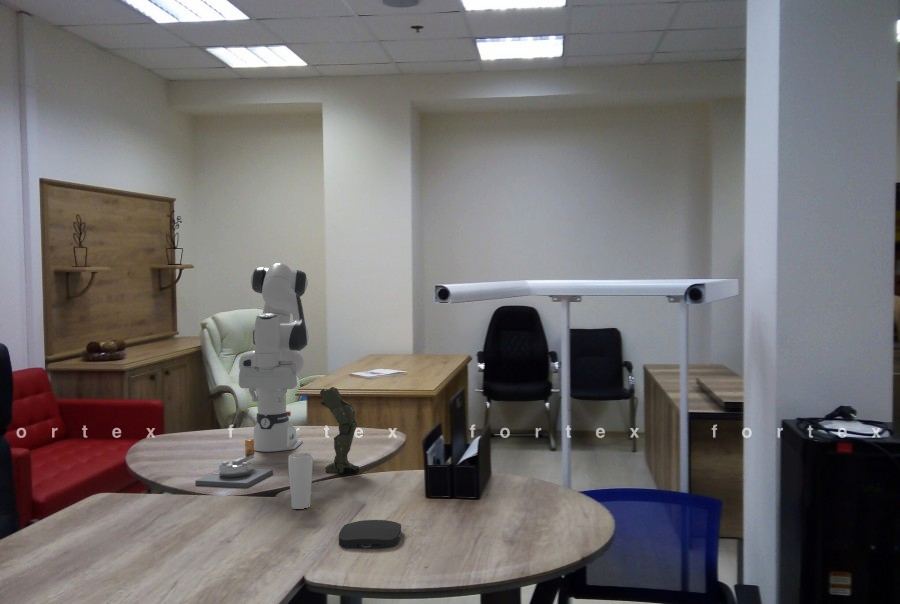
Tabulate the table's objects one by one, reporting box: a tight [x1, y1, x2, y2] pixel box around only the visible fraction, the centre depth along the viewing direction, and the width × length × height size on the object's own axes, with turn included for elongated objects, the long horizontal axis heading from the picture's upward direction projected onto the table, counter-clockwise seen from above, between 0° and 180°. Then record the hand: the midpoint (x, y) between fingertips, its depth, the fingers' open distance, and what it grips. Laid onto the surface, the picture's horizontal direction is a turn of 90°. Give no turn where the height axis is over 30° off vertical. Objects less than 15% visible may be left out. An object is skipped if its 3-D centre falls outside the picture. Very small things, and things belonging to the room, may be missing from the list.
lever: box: [218, 438, 255, 478], centre depth 242 cm, size 16×10×9 cm, turn 167°
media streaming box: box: [338, 519, 402, 549], centre depth 180 cm, size 15×15×3 cm
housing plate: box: [194, 468, 274, 489], centre depth 239 cm, size 18×18×2 cm
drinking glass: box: [287, 452, 314, 510], centre depth 206 cm, size 7×7×15 cm
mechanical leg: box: [319, 386, 360, 474], centre depth 249 cm, size 14×7×30 cm, turn 85°
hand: (268, 401), depth 247 cm, fingers open, 8 cm apart
